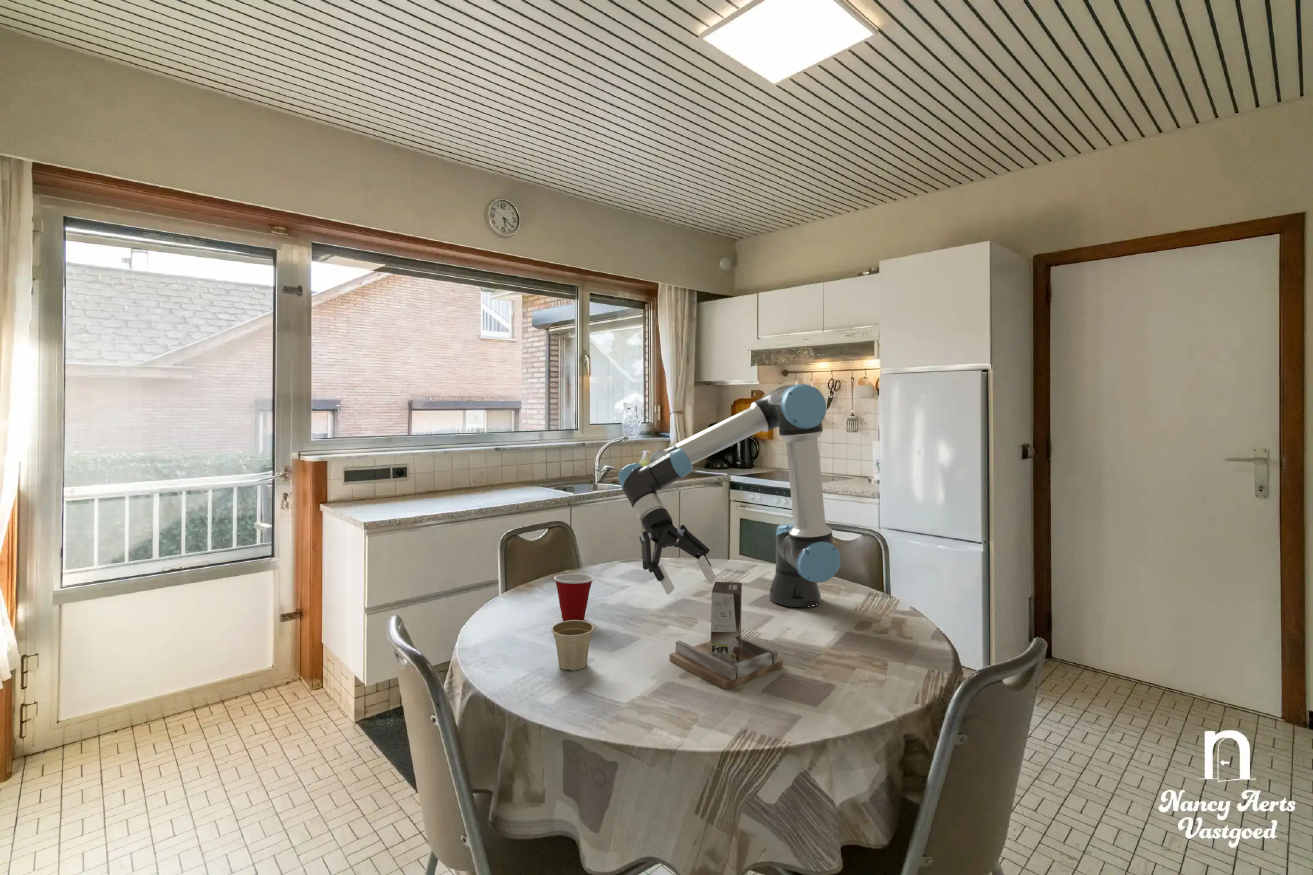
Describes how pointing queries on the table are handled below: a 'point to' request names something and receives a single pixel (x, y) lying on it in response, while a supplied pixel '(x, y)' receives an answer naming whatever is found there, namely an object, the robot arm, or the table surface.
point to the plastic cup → (573, 595)
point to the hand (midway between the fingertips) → (692, 585)
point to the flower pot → (572, 643)
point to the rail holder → (722, 674)
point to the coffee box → (726, 621)
